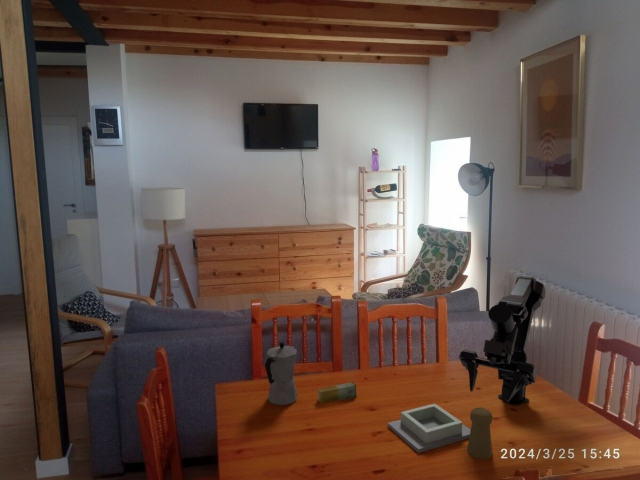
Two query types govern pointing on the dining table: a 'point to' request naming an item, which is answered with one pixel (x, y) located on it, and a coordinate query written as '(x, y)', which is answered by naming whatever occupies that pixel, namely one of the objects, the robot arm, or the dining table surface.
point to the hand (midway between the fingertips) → (489, 395)
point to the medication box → (337, 392)
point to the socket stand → (429, 428)
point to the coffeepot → (281, 374)
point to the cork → (480, 434)
